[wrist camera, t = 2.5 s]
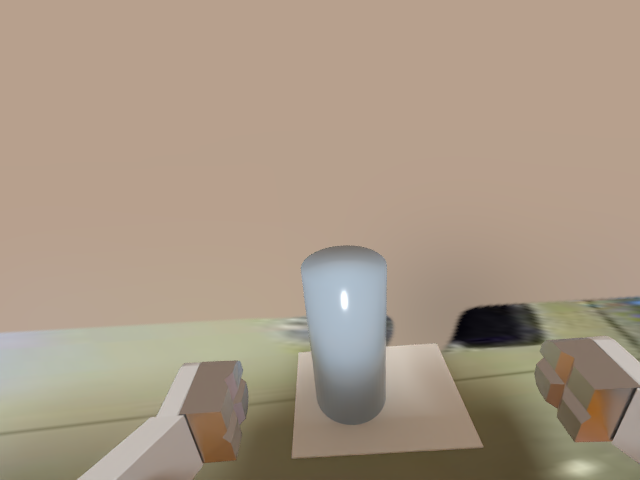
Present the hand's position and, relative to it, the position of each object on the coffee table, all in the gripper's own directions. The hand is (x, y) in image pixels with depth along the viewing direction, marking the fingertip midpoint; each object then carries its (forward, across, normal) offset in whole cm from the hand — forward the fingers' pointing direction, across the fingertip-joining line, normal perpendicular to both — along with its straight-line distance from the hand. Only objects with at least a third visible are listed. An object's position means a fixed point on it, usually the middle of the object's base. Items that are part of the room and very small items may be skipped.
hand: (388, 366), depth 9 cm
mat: (+12, +1, -16) cm, 21 cm away
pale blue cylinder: (+12, -1, -16) cm, 20 cm away
